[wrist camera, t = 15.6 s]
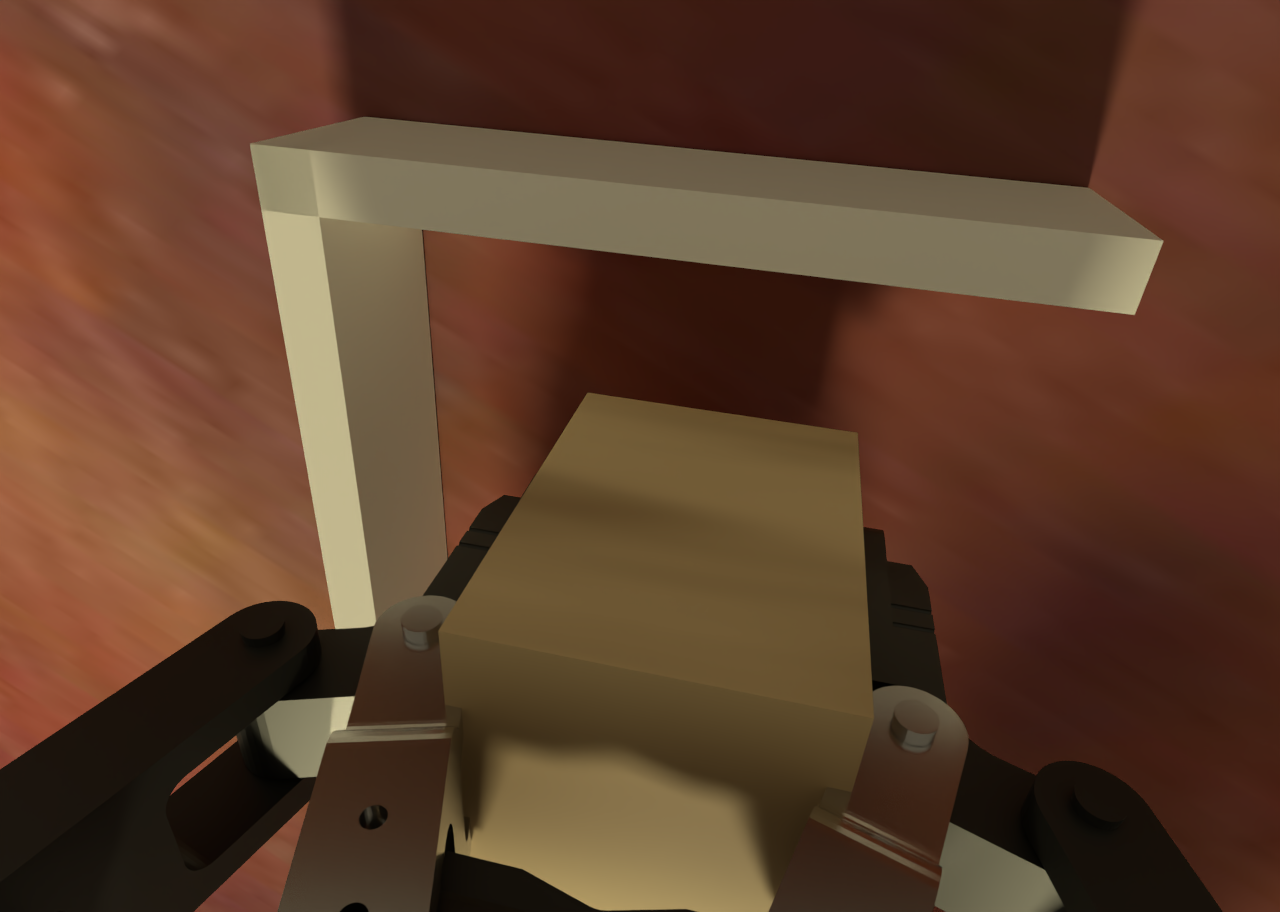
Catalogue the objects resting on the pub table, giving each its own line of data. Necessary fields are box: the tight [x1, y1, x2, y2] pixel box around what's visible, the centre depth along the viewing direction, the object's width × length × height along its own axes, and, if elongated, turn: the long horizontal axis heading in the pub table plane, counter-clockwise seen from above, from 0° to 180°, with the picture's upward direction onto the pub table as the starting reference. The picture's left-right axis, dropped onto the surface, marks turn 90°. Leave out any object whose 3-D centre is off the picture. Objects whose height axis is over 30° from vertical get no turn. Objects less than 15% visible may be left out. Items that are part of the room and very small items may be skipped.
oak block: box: [438, 393, 874, 912], centre depth 12 cm, size 4×4×6 cm
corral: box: [250, 117, 1163, 629], centre depth 18 cm, size 23×13×4 cm, turn 177°
